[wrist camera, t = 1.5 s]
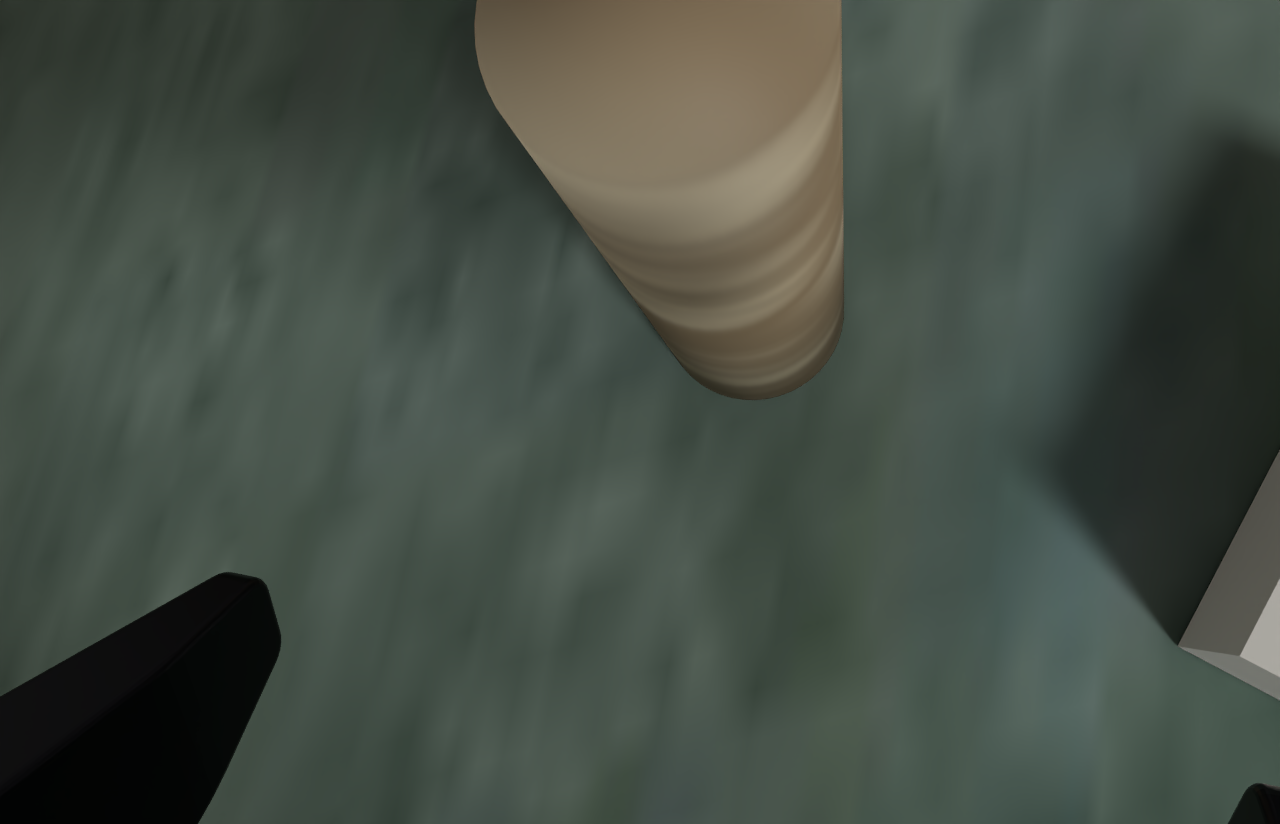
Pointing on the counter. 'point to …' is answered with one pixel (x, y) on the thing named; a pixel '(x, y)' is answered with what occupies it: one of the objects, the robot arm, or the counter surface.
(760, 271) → the peg
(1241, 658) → the socket
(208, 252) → the counter surface
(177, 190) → the counter surface
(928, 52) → the counter surface
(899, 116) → the counter surface
